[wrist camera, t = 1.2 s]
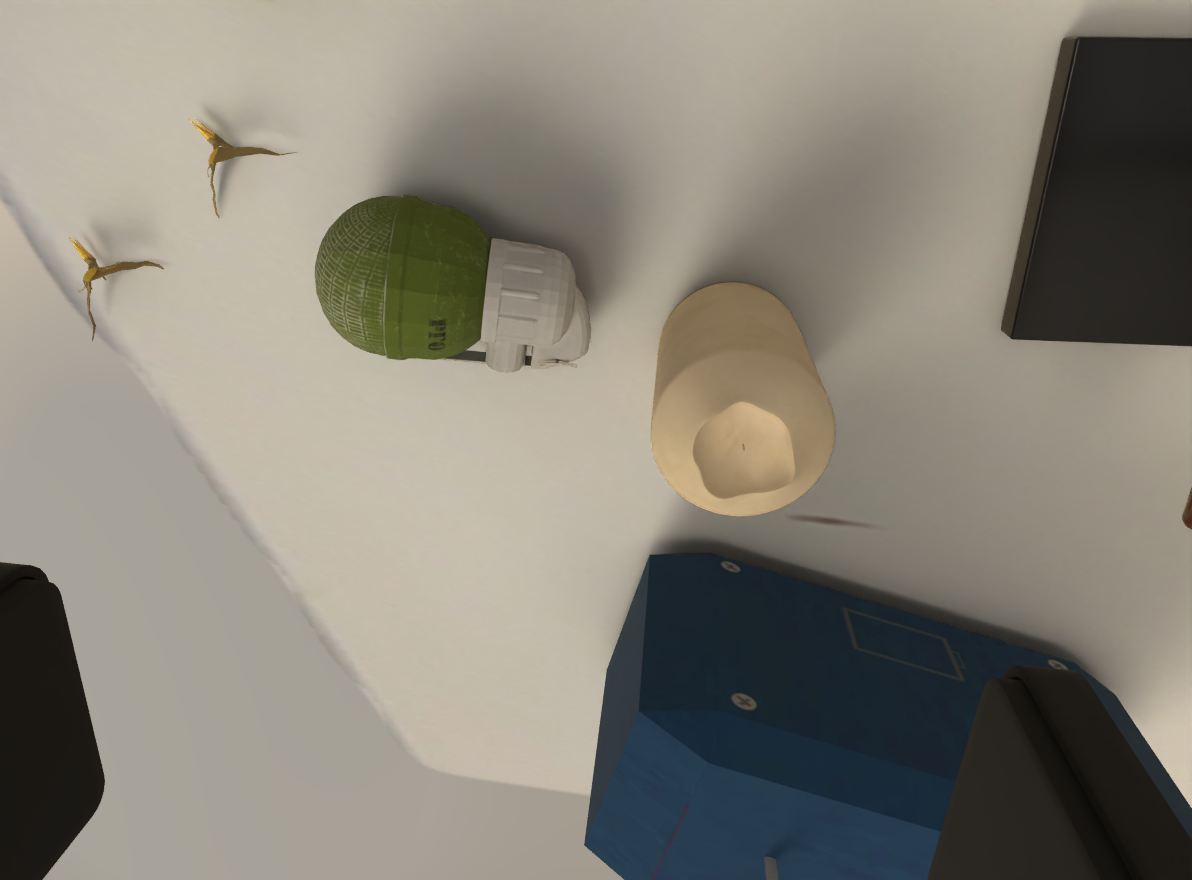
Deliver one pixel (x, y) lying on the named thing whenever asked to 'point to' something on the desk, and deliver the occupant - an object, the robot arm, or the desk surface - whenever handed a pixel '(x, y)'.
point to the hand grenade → (447, 288)
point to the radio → (790, 729)
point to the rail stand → (1110, 200)
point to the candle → (738, 403)
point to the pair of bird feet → (216, 156)
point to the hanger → (1188, 512)
